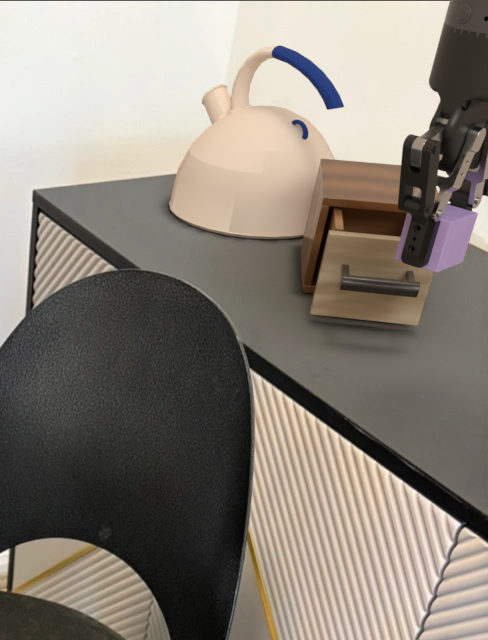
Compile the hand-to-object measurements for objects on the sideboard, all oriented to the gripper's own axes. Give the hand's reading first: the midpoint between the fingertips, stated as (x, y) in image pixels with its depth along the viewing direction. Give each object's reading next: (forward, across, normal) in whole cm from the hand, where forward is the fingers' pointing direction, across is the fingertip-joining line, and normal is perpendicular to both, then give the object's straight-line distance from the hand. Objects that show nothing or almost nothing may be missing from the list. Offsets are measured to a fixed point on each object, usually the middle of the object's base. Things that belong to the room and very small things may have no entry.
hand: (429, 257), depth 93 cm
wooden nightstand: (+12, +22, +20) cm, 32 cm away
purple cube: (0, 0, 0) cm, 0 cm away
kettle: (+12, +30, +41) cm, 52 cm away
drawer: (+11, +13, +13) cm, 21 cm away
